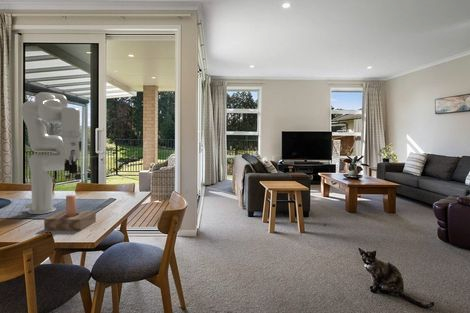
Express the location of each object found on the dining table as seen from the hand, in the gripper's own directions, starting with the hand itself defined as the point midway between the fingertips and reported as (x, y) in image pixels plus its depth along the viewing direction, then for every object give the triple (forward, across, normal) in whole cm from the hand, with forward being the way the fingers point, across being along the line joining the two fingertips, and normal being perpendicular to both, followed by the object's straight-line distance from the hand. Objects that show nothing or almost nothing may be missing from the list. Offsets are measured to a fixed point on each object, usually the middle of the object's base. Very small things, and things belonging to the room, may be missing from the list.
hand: (70, 172), depth 134 cm
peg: (+25, 0, 0) cm, 25 cm away
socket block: (+25, 0, 0) cm, 25 cm away
